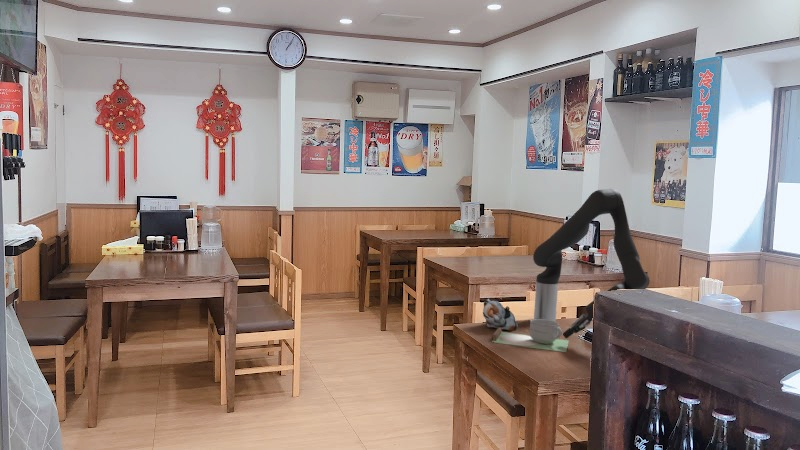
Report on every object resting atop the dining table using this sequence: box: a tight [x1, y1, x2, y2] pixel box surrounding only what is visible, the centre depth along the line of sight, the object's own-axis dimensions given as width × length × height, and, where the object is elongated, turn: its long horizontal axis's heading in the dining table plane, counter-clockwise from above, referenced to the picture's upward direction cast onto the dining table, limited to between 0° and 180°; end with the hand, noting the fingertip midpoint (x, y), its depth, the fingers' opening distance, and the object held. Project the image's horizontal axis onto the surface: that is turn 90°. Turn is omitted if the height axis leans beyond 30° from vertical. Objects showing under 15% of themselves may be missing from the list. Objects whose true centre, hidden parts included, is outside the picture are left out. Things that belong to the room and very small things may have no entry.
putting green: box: [491, 327, 570, 353], centre depth 236 cm, size 16×27×2 cm, turn 71°
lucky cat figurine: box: [482, 298, 519, 332], centre depth 254 cm, size 15×12×14 cm
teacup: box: [529, 318, 563, 344], centre depth 234 cm, size 14×11×8 cm
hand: (564, 336), depth 232 cm, fingers closed
